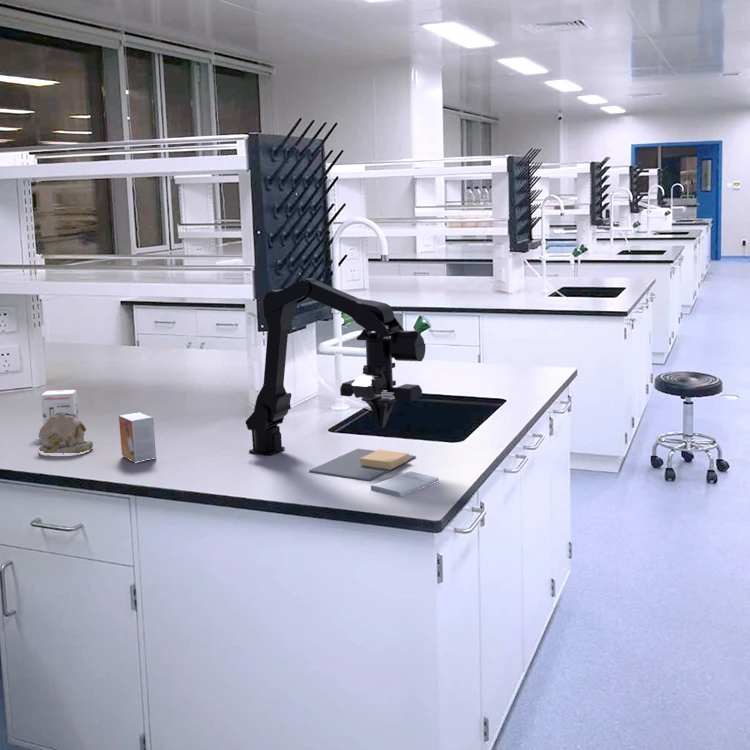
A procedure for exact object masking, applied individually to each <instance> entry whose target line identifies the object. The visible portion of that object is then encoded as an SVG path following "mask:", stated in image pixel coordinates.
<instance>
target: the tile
mask: <svg viewBox="0 0 750 750" xmlns="http://www.w3.org/2000/svg"><path fill="white" fill-rule="evenodd" d="M374 451H375V452H373V453H371V454H368V455H366V456H364V457H362V458H360V465H363V466H368V467H375V468H382V469H389V470H390V471H392V470H394V469H396V468H397V467H396V466H398V465H400V464H402V463H404V462H406V461H408V460H409V455H410V453H407V452H401V451H391V450H384V449H377V450H374ZM408 462H409V461H408ZM406 463H407V462H406ZM404 464H405V463H404ZM402 465H403V464H402ZM400 466H401V465H400ZM395 467H396V468H395ZM398 467H399V466H398ZM393 468H394V469H393ZM391 469H392V470H391Z"/></svg>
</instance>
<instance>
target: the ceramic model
mask: <svg viewBox="0 0 750 750" xmlns="http://www.w3.org/2000/svg"><path fill="white" fill-rule="evenodd" d="M85 432H87V428H86V426H85V425H84V424H83V422H82V421H81V420H80V419H79V420H77V419H76V418H74V417H73V416H66V414H65V413H59V416H51V417H50V418H49V420H48V421H47V422H46V423H45V424H44V423H43V425H42V426H41V428H40V429H39V433H38V439H41V440H42V445H41V446H39V448H38V451H39V450H40V451H43V452H44V453H63V454H64V453H80V452H84V451H87V450H90V449H91V448H92V447H93V448H94V443H93V441H91V440H89V441H85Z"/></svg>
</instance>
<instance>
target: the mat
mask: <svg viewBox="0 0 750 750" xmlns="http://www.w3.org/2000/svg"><path fill="white" fill-rule="evenodd" d="M375 451H376V450H372V449H364V448H356V449H354V450H351V451H349V452H347V453H345V454H343V455H340V456H338V457H335V458H334V459H331V460H329V461H327V462H324V463H322V464H320V465H317V466H315V467H313V468H311V469H309V470H308V472H309V473H314V474H321V475H326V476H327V475H328V476H333V477H334V476H335V477H340V478H347V479H354V480H360V481H367V482H371V481H372V480H373V481H374V479H377V478H379V477H381V476H382V475H384V474H387V473H388V472H390V471H393V470H394V469H396V468H399V467H400V466H402V465H404V464H406V463H407V462H410V461H412V460H414V459H416V458H417V457H416V455H412V454H411V455H410V454H409V460H408V461H406V462H404V463H402V464H400V465H398V466H396V467H395V468H393V469H391V470H389V469H382V468H375V467H368V466H363V465H360V458H362V457H364V456H366V455H368V454H371V453H373V452H375Z"/></svg>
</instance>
